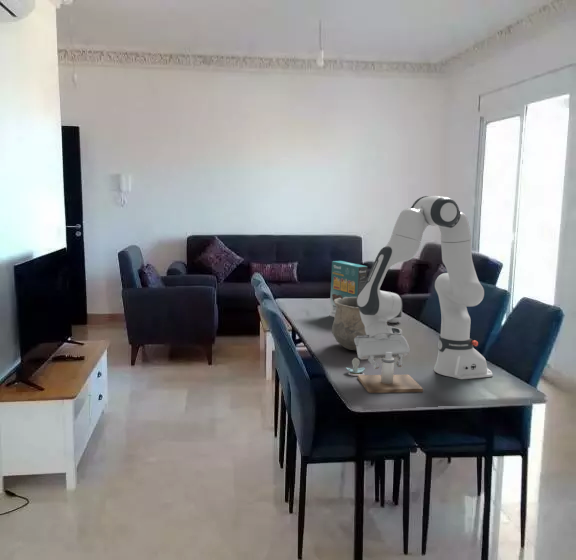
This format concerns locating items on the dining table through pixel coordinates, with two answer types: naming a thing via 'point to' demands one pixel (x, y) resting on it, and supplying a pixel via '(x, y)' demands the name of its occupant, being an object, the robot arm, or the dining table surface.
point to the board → (399, 384)
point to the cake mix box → (346, 281)
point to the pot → (347, 322)
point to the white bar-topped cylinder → (387, 368)
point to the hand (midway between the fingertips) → (388, 367)
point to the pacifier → (356, 368)
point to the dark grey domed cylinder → (396, 318)
